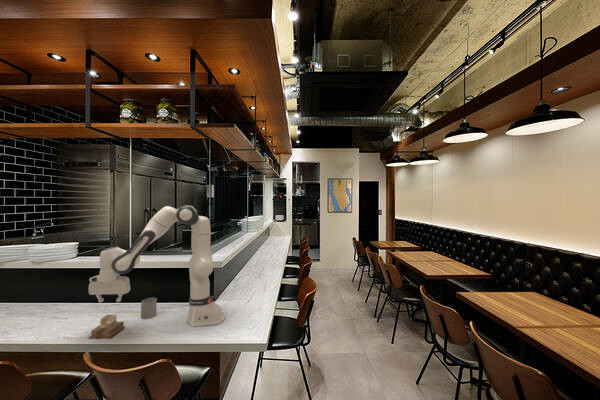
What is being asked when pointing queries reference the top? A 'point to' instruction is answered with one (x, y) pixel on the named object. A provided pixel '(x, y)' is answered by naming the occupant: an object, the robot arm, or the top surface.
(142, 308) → the cup
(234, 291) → the top surface
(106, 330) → the walnut pedestal
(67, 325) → the top surface
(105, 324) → the maple cube
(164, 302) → the top surface
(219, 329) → the top surface
